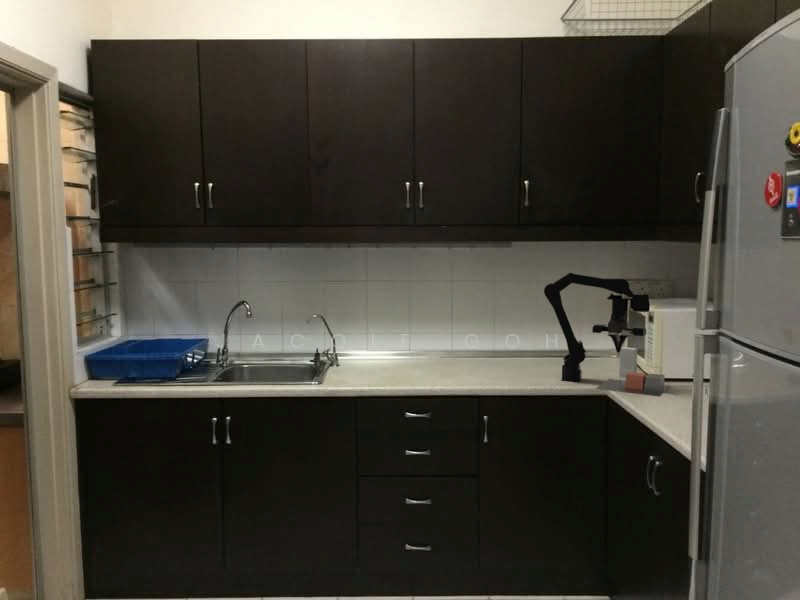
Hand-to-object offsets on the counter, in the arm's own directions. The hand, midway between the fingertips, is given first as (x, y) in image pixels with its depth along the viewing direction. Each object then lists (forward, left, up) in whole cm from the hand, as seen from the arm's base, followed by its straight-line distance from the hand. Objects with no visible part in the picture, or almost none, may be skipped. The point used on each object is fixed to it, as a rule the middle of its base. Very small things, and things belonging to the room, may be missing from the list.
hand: (618, 352), depth 242 cm
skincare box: (+1, +13, -12) cm, 18 cm away
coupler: (+7, -6, -12) cm, 15 cm away
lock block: (+8, -6, -11) cm, 15 cm away
